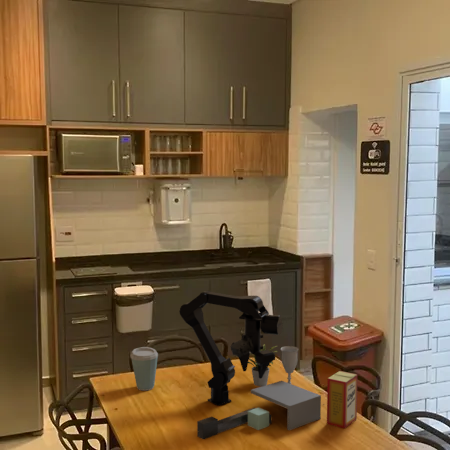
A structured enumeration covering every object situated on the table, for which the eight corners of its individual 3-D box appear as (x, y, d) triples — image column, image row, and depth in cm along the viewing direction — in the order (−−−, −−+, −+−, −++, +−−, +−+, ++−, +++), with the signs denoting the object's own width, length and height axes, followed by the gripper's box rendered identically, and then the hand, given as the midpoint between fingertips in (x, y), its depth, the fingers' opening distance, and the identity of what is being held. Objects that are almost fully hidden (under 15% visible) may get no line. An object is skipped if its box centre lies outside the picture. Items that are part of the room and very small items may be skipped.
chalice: (297, 399, 228) (297, 352, 227) (278, 398, 230) (279, 351, 228) (298, 392, 236) (299, 346, 234) (281, 391, 237) (281, 345, 235)
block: (247, 425, 206) (247, 411, 205) (258, 421, 209) (258, 407, 209) (258, 430, 202) (258, 415, 202) (269, 426, 205) (269, 411, 205)
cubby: (250, 412, 216) (250, 389, 216) (281, 402, 226) (281, 380, 225) (289, 430, 202) (289, 406, 201) (320, 418, 211) (320, 395, 210)
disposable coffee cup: (163, 389, 239) (163, 351, 237) (138, 395, 233) (137, 356, 231) (150, 381, 248) (150, 344, 246) (126, 386, 242) (125, 349, 240)
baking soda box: (344, 428, 203) (345, 381, 202) (326, 423, 207) (327, 377, 206) (356, 419, 211) (357, 373, 210) (339, 414, 215) (339, 369, 213)
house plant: (287, 382, 247) (288, 342, 245) (271, 393, 235) (271, 351, 234) (256, 376, 254) (257, 337, 253) (239, 385, 243) (239, 345, 241)
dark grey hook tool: (197, 436, 197) (197, 421, 197) (253, 415, 214) (253, 401, 213) (215, 445, 191) (215, 429, 190) (271, 423, 207) (271, 409, 207)
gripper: (219, 329, 222) (218, 372, 223) (251, 341, 207) (250, 386, 208) (243, 325, 228) (243, 366, 230) (276, 336, 213) (276, 380, 215)
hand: (252, 374), depth 220 cm, fingers open, 9 cm apart
